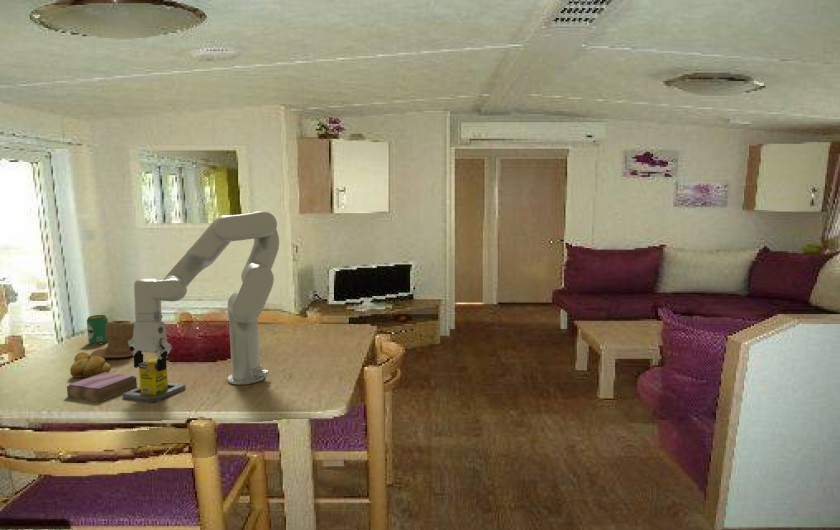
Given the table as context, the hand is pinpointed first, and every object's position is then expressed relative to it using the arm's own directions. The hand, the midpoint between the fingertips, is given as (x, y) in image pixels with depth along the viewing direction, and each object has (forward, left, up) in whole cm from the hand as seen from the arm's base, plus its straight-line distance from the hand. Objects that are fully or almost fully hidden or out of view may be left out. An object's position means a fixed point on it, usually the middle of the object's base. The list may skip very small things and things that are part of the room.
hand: (150, 368), depth 169 cm
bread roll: (+37, -8, -9) cm, 39 cm away
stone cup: (+48, -29, -9) cm, 57 cm away
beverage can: (+75, -43, -9) cm, 87 cm away
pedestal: (+17, +3, -9) cm, 20 cm away
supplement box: (-1, -1, -9) cm, 9 cm away
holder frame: (-1, -1, -9) cm, 9 cm away
